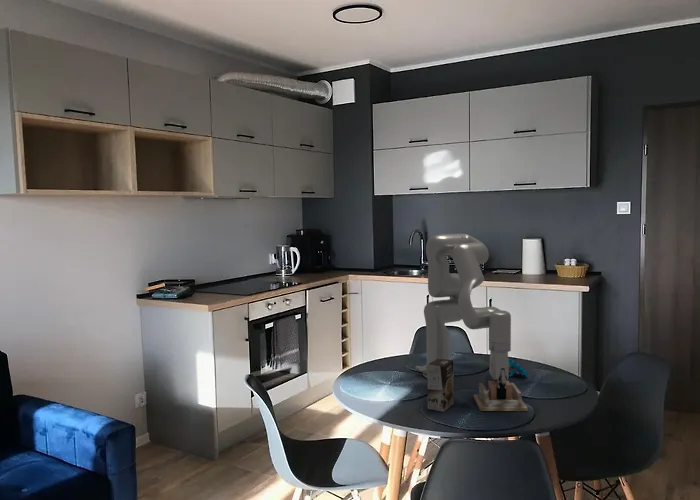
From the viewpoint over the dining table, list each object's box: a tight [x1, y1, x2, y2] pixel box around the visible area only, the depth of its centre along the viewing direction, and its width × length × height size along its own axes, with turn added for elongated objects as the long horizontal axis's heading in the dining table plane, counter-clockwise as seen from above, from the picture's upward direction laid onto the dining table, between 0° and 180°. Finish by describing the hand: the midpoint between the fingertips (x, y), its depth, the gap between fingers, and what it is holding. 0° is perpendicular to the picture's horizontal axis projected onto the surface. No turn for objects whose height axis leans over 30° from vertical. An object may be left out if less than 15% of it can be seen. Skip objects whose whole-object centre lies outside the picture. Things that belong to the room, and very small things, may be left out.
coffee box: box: [427, 359, 454, 413], centre depth 200 cm, size 9×6×16 cm
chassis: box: [473, 382, 529, 412], centre depth 202 cm, size 16×14×6 cm
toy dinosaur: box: [508, 358, 529, 378], centre depth 234 cm, size 11×6×10 cm
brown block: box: [487, 380, 511, 400], centre depth 201 cm, size 7×5×6 cm
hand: (499, 395), depth 202 cm, fingers open, 5 cm apart
